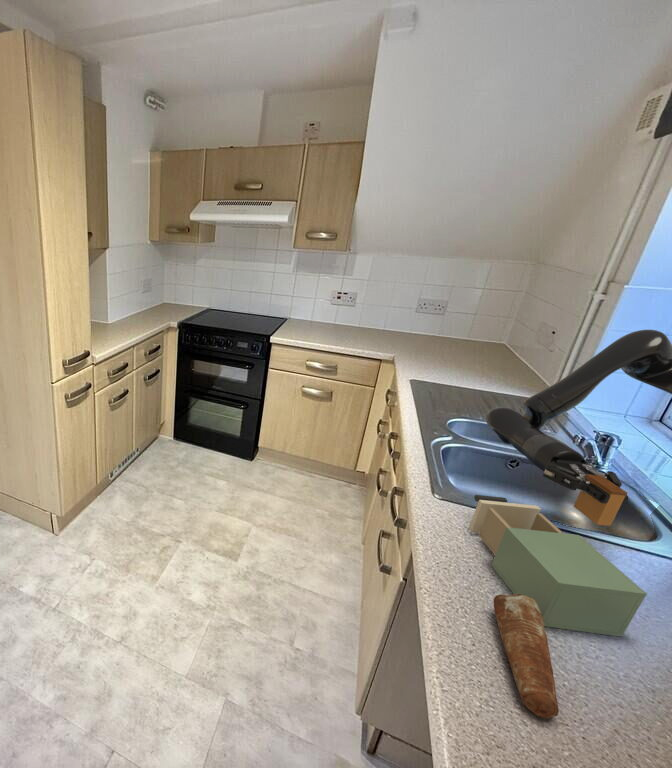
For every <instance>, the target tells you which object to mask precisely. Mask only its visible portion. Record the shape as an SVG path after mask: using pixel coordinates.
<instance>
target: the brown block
mask: <svg viewBox="0 0 672 768" xmlns="http://www.w3.org/2000/svg"><path fill="white" fill-rule="evenodd" d="M586 477H587V479H589V480H590V481H591V482H592V484H595V485H597V486H598V487H600V488H601V489H603V490H604V491H606V492H607V493H609V494H610V499H609V501H608V503H601V502H599V501H598V500H596V499H595V498H593V497H592V496H591V495H589V494H588V493H584V492H581V491H580V490H579V493H578V495H577V497H576V499H575V501H574V504H573V507H574V508H575V509H576V510H578V511H579V512H580V513H581V514H582V515H584V516H585V517H586V518H588V519H589V520H590V521H591V522H592V523H594V524H595V525H597V526H607V527H611V526H612V524H613V522H614V520H615V518H616V516H617V514H618V512H619V510H620V508H621V506H622V505H621V504H622V502H623V500H624V498H625V496H626V495H627V496H628V492H627V491H626V490H624V489H623V488H621V487H618V486H616V485H615V484H613V483H612V482H610V481H609V480H607V479H606V478H604V477H603V476H600V475H589V474H587V476H586Z"/></svg>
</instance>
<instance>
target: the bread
mask: <svg viewBox="0 0 672 768" xmlns="http://www.w3.org/2000/svg"><path fill="white" fill-rule="evenodd" d="M493 610H494V611H493V612H494V615H495V619H496V623H497V627H498V630H499V633H500V637H501V640H502V645H503V647H504V650H505V653H506V656H507V658H508V663H509V665H510V668H511V672H512V675H513V678H514V682H515V685H516V687H517V690H518V692H519V696H520V699H521V701H522V703H523V705H524V706H525V707H527V709H528V710H529V711H531V712H532V713H533V714H535V716H538V717H540V718H546V719H547V718H548V719H549V718H553V717H557V716H558V715H559V711H560V710H559V703H558V698H557V697H558V696H557V690H556V689H557V688H556V682H555V678H554V671H553V665H552V659H551V654H550V653H551V652H550V649H549V642H548V636H547V632H546V627H545V626H544V622H543V618H542V615H541V611H540V609H539V607H538V604H537V602H536V601H535V600H534V599H532V598H530V597H527V596H524V595H522V594H517V595H515V594H513V593H512V594H508V595H505V594H497V595H495V597H494V598H493Z"/></svg>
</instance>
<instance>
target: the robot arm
mask: <svg viewBox="0 0 672 768" xmlns="http://www.w3.org/2000/svg"><path fill="white" fill-rule="evenodd" d="M620 369H621V370H622V371H623V372H624V374H625V375H627V376H628V377H630V378H632V379H634V380H636V381H639V382H641V383H644V384H646V385H649V386H651V387H654V388H656V389H659V390H661V391H664V392H666V393H669V394H670V395H672V343H671V340H670V339H669V338H668V336H667V335H666V334H665V333H664V332H662V331H659V330H656V329H640V330H636V331H631V332H630V333H629V332H628V333H627V334H625V335H622V336H620V338H618V339H616V340H614V341H613V342H612V343H610V344H609V345H608V346H605V348H603V349H602V350H601V351H600V352H598V353H597V354H595V355H593V357H591V358H590V359H589V360H587V361H586V362H584V363H583V364H582V365H581V366H579V367H578V368H576V369H575V370H574V371H572V372H571V373H569V374H568V375H566V376H565V377H563V378H562V379H561V380H559V381H556V382H555V383H553V384H552V385H550V386H548V387H546V388H544V389H542V390H540V391H539V392H537V393H534V394H533V395H532V396H530V397H528V398H526V399H525V400H524V401H523V407H524V409H525V412H524V414H523V415H522V414H521V413H519V412H518V411H517V410H515V409H513V408H510V407H506V406H499V407H495V408H492V409H491V410H489V411H488V412H487V414H486V416H485V421H486V424H487V426H488V427H489V429H490V430H491V431H492V432H493V433H494V435H495V436H496V437H497V438H498V439H499V440H500V442H502V443H504V444H507V445H511V446H512V447H513V448H514V449H515V450H516V451H518V452H519V453H520V454H522V455H523V456H524V457H525V458H526V459H527V460H528V461H529V462H530V463H532V464H533V465H534V466H536V467H537V468H538V469H539V470H541V471H542V477H544V478H545V479H548V480H550V481H552V482H554V483H556V484H557V485H558V484H559V485H560V486H562V487H565V488H567V489H569V490H571V491H577V490H579V492H580V491H581V492H584V493H588V494H589V495H591V496H592V497H593V498H595V499H596V500H598V501H599V502H601V503H608V501H609V499H610V494H609V493H607V492H606V491H604V490H603V489H601V488H600V487H598V486H597V485H595V484H592V482H591V481H590V480H589V479H587V477H586V476H587V474H589V475H600V476H603V477H604V478H606V479H607V480H609V481H610V482H612V483H613V484H615V485H616V486H618V487H620V488H621V487H622V485H623V483H622V482H621V479H620V478H619V477H618V475H617V474H616V473H615V472H614V471H611V470H607V471H606V472H605V473H604V472H600V471H598V469H596V468H594V467H592V466H590V465H588V464H587V461H586V460H585V457H584V456H583V455H582V454H581V453H580V452H578V451H577V450H575V449H573V448H572V447H570V446H569V445H567V444H565V443H564V442H562V441H560V440H559V439H558V438H555V437H553V436H551V435H549V434H547V433H546V432H544V431H543V430H541V428H543V427H544V426H545V425H546V424H547V423H548V422H550V420H552V419H555V418H557V417H559V416H561V415H563V414H564V413H566V412H569V411H571V410H572V409H573V408H575V407H577V406H579V405H580V404H581V403H582V402H583V401H585V400H586V398H588V397H589V395H590V394H592V392H593V391H594V390H595V389H596V388H597V387H598V386H599V385H600V384H601V383H602V382H603V381H604V380H605V379H606V378H608V377H609V376H611V375H613V374H614V373H615V372H617V371H618V370H620ZM628 500H629V496H628V494H627V495H626V496H625V498H624V500H623V502H622V504H621V506H625V505H626V504H627V503H628Z"/></svg>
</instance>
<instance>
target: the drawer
mask: <svg viewBox="0 0 672 768" xmlns="http://www.w3.org/2000/svg"><path fill="white" fill-rule="evenodd" d="M473 498H474V501H475V502H477V504H476V507H475V510H474V513H473V515H472V518H471V521H470V524H469V526H468V530H469V531H470V532H471V533H477V534H478V537H479V538H480V539H481V540H482V541H483V543H484V544H485V545H486V547H488V549H489V550H490V551H491V553H493V555H494V556H495V555H496V553H497V550H498V548H499V545H500V543H501V540H502V538H503V535H504V533H505V530H506V527H510V528H519V529H528V530H537V531H546V532H555V533H563V531H562V530H561V529H559V528H558V527H557V526H556V525H555V524H554V523H553V522H551V520H549V518H547V517H546V516H545V515H544V514H543V513H540V512H541V510H542V509H541V508H540V507H539V505H534V504H527V503H526V504H525V503H515V502H514V503H513V502H508V499H507V498H506V497H502V496H491V495H481V494H475V495H474V497H473Z"/></svg>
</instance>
